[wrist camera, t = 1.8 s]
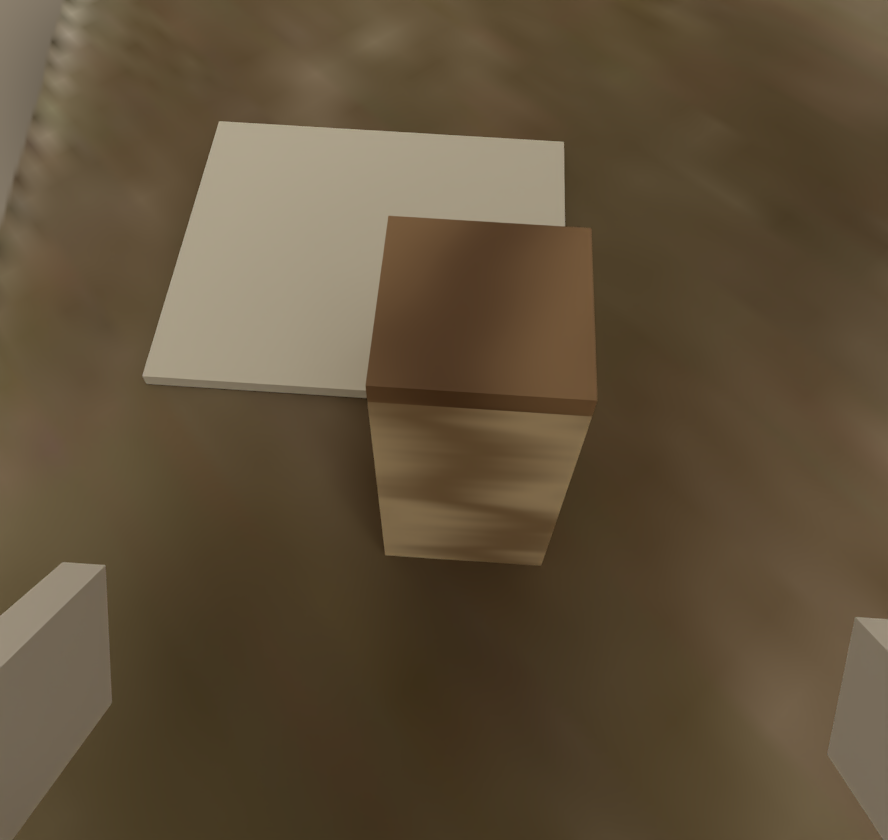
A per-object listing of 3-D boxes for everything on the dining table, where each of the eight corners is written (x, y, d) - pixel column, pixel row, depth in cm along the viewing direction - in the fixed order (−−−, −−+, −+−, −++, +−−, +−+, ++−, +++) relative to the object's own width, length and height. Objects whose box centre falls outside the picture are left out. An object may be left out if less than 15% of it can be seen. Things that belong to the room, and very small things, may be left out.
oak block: (541, 430, 35) (591, 228, 24) (541, 565, 31) (597, 400, 21) (399, 421, 35) (388, 215, 24) (385, 555, 32) (365, 385, 21)
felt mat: (562, 151, 43) (563, 141, 43) (565, 411, 35) (567, 403, 34) (221, 130, 43) (219, 121, 43) (146, 383, 35) (142, 376, 35)
